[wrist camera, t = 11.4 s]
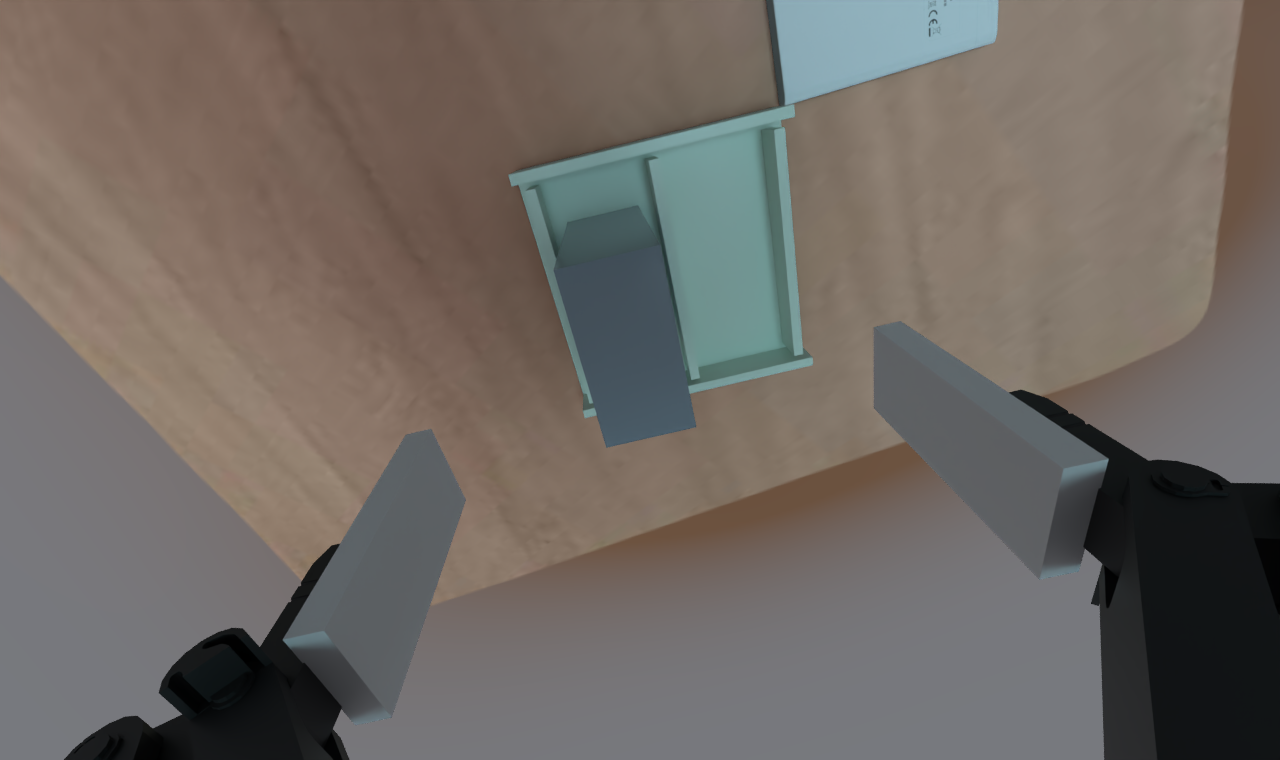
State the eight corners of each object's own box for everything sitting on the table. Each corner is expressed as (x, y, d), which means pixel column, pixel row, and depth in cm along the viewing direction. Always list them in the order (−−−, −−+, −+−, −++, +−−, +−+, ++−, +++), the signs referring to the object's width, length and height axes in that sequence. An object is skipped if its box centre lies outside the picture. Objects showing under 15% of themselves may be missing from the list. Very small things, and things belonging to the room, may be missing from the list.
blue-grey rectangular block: (567, 222, 32) (553, 270, 21) (638, 205, 32) (660, 244, 21) (603, 351, 36) (606, 447, 25) (665, 337, 36) (696, 427, 25)
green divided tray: (516, 170, 31) (508, 175, 28) (774, 106, 31) (793, 104, 28) (585, 395, 38) (585, 418, 35) (795, 346, 38) (812, 364, 35)
